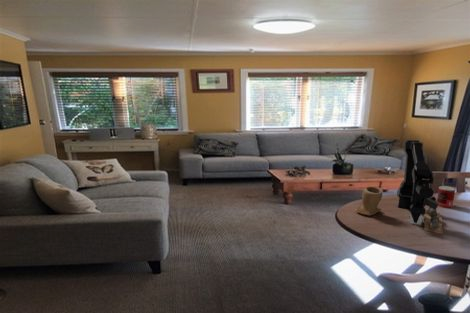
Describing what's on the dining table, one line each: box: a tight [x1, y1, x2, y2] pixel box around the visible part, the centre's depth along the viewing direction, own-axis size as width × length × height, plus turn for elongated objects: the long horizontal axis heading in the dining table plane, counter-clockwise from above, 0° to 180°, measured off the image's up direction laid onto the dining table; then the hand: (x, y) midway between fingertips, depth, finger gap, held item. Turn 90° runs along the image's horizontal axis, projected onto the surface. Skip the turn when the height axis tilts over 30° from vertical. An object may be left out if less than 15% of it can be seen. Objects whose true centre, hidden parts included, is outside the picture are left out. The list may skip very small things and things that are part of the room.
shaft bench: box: [423, 206, 444, 235], centre depth 145 cm, size 8×27×5 cm, turn 148°
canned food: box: [436, 185, 456, 209], centre depth 166 cm, size 8×8×11 cm
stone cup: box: [355, 185, 383, 216], centre depth 156 cm, size 15×12×15 cm
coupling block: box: [408, 212, 423, 227], centre depth 144 cm, size 6×5×5 cm
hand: (415, 220), depth 144 cm, fingers closed on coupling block, 5 cm apart
